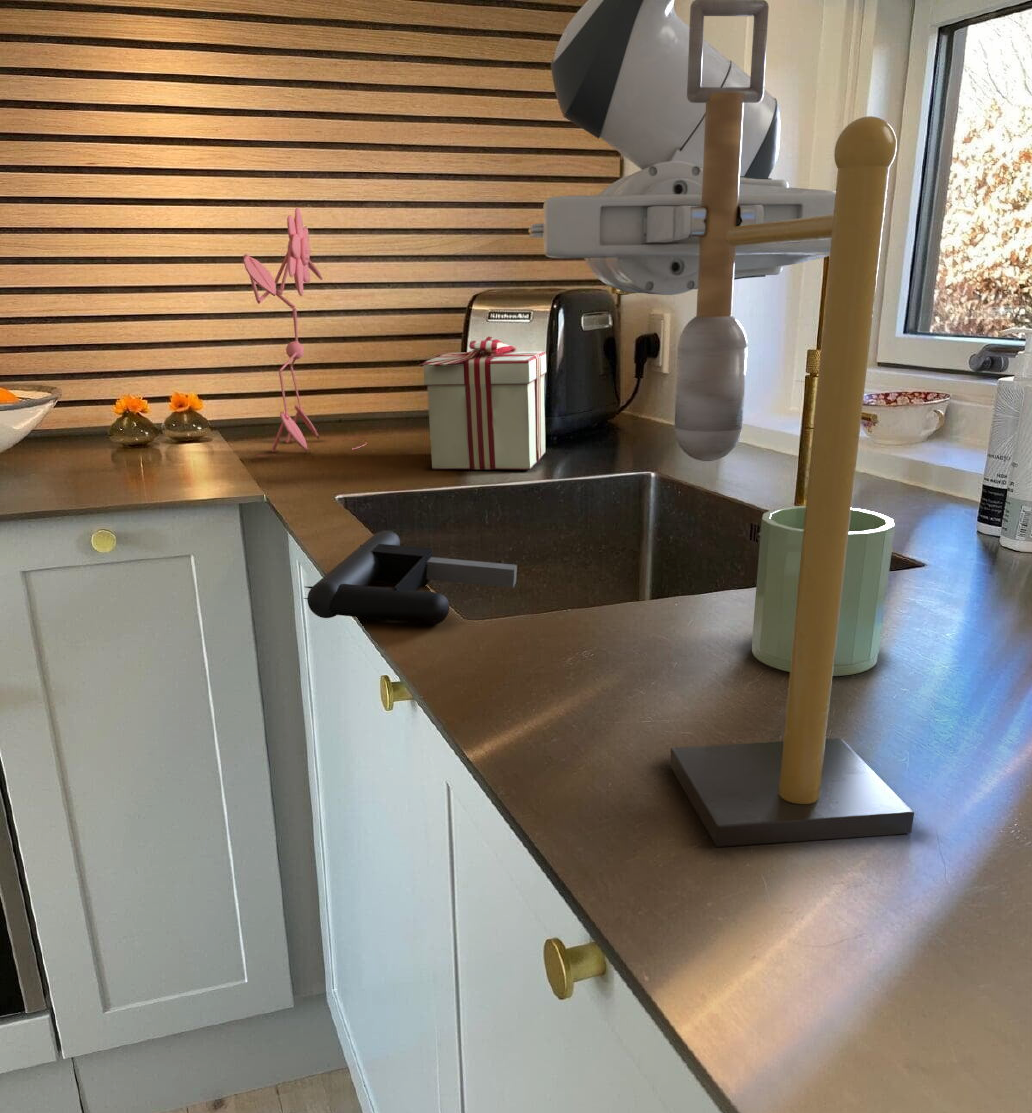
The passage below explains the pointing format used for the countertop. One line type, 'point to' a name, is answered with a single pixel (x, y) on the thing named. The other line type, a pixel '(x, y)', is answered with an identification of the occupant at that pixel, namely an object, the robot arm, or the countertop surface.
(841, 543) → the stand
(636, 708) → the countertop surface
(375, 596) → the black frame with bar
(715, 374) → the square loop wand
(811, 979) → the countertop surface
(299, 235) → the figurine
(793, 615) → the crock
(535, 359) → the gift box
